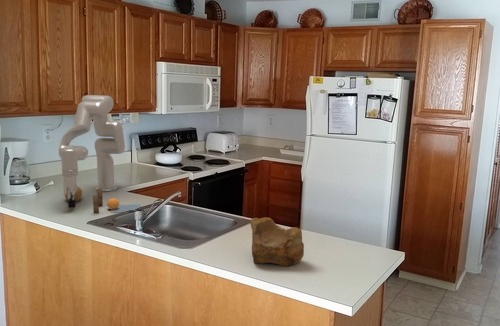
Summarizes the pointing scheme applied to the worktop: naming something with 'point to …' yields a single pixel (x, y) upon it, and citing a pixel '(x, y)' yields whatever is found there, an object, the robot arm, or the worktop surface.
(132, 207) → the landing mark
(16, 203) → the worktop surface
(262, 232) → the rough brown rock
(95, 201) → the outer post
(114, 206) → the ball
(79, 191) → the potato
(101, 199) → the inner post
